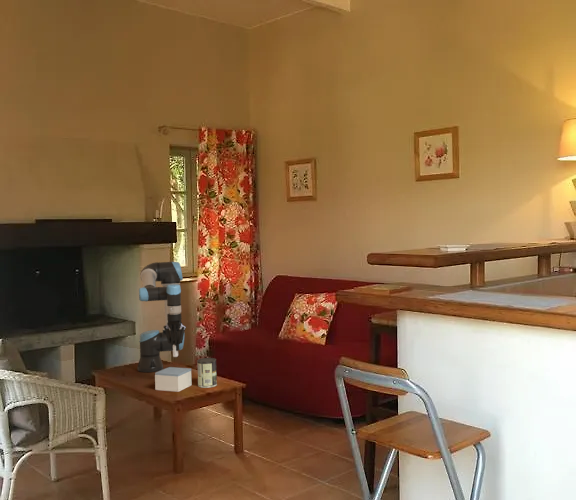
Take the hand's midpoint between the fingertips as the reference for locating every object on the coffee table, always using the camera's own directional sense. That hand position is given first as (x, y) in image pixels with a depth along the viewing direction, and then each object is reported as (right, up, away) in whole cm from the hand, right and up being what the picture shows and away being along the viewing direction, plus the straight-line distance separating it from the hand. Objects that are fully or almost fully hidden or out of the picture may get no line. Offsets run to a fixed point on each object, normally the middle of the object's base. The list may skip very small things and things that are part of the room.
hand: (175, 356), depth 352 cm
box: (-1, -16, -2) cm, 17 cm away
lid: (-1, -8, -3) cm, 9 cm away
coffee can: (+17, -16, 0) cm, 23 cm away
